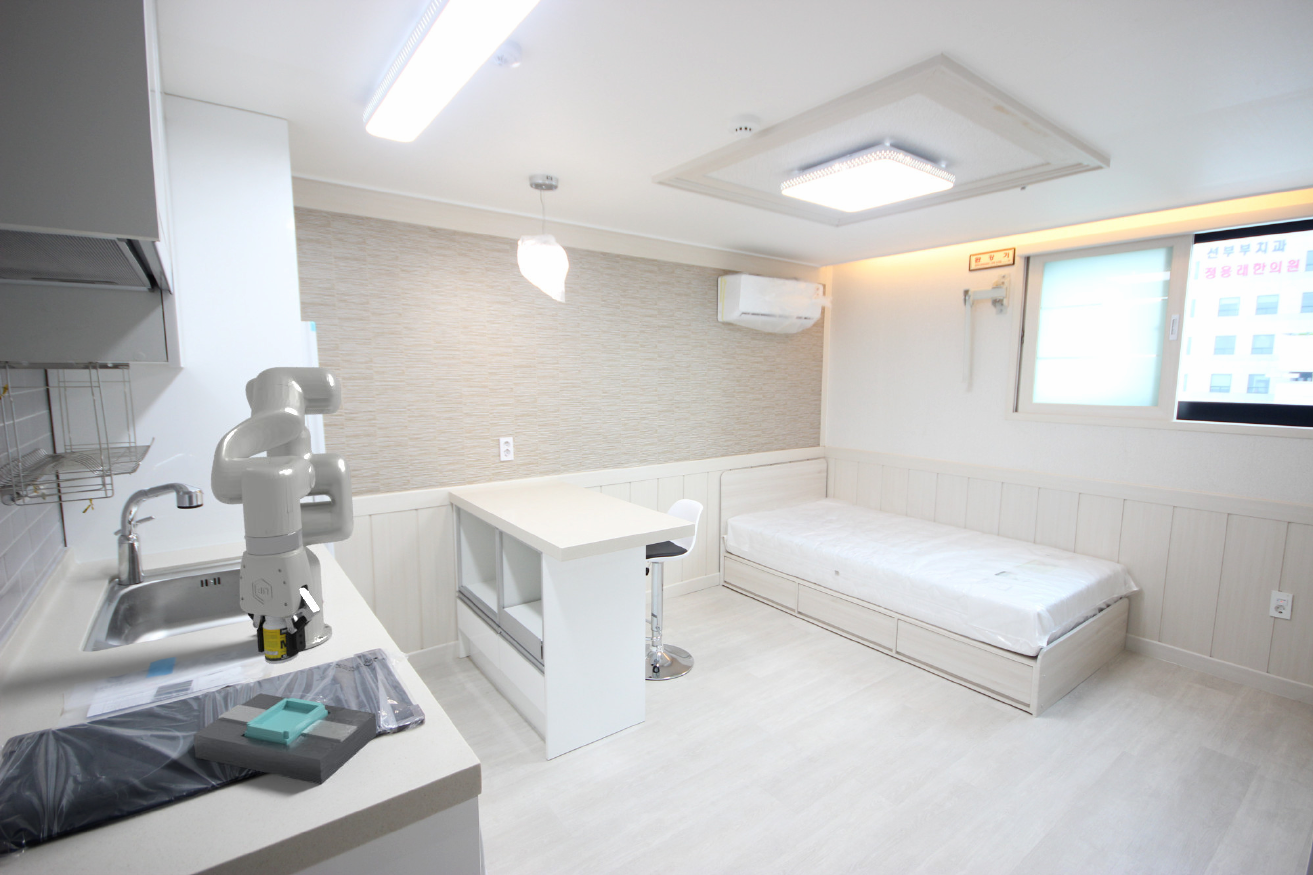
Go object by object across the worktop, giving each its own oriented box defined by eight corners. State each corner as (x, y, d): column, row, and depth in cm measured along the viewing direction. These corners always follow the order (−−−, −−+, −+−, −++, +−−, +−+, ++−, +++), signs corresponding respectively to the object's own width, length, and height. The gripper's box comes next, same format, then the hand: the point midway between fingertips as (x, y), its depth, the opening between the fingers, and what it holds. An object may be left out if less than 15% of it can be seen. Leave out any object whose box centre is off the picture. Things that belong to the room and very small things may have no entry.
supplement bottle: (283, 666, 92) (279, 616, 91) (257, 663, 93) (254, 613, 92) (306, 651, 96) (303, 603, 95) (282, 648, 97) (279, 600, 96)
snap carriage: (245, 743, 93) (243, 725, 93) (288, 713, 101) (286, 696, 101) (287, 752, 91) (286, 733, 91) (328, 721, 99) (327, 703, 99)
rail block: (195, 757, 93) (193, 732, 93) (261, 713, 105) (259, 691, 104) (321, 784, 88) (319, 757, 87) (376, 735, 100) (375, 711, 99)
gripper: (208, 544, 90) (218, 654, 93) (300, 554, 86) (307, 669, 89) (252, 531, 97) (260, 633, 100) (338, 539, 94) (344, 646, 96)
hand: (282, 649), depth 94 cm, fingers closed on supplement bottle, 4 cm apart
